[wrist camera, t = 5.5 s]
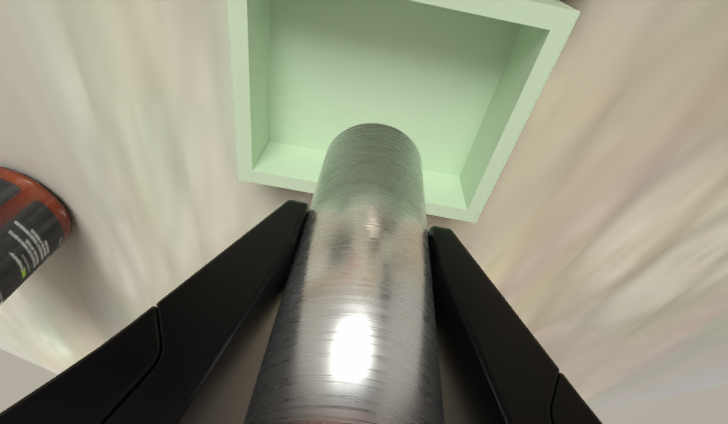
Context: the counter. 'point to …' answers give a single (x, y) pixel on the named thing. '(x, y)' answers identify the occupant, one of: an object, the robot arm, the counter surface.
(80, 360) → the robot arm
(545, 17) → the tray
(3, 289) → the supplement bottle
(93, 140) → the counter surface
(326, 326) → the pin
